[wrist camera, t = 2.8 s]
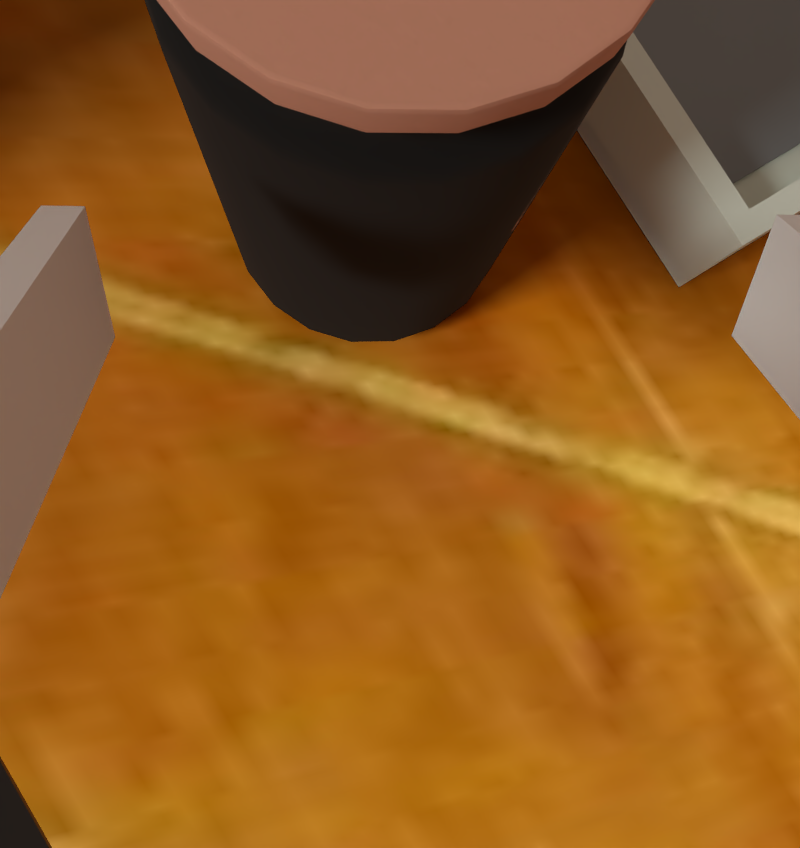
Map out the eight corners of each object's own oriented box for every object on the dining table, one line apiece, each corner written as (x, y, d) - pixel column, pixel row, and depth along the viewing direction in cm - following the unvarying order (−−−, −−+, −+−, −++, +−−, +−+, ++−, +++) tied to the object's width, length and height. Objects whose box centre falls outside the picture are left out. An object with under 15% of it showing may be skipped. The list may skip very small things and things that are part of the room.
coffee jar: (517, 326, 30) (769, 68, 13) (261, 370, 29) (139, 158, 12) (466, 86, 31) (632, -465, 14) (216, 120, 30) (42, -430, 13)
